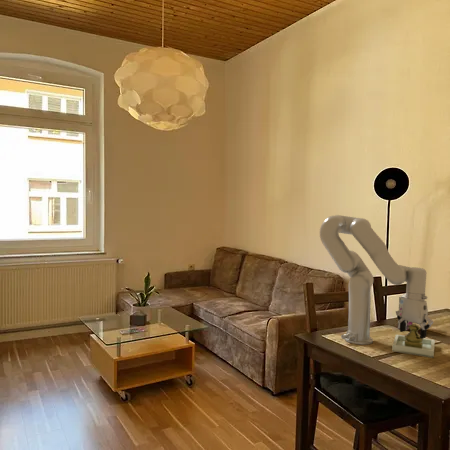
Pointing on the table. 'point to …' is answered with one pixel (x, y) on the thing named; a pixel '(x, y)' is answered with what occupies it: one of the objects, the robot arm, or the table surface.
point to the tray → (401, 348)
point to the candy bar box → (401, 309)
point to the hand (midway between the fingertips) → (412, 334)
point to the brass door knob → (413, 337)
